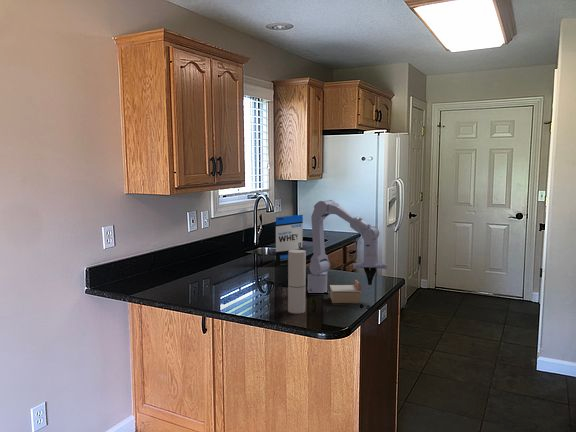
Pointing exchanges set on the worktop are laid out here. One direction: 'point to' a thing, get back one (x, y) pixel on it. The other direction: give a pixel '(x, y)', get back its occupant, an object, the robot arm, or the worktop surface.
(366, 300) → the worktop surface
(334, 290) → the mailer lid
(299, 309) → the cylindrical container
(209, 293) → the worktop surface
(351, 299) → the box
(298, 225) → the protein powder
